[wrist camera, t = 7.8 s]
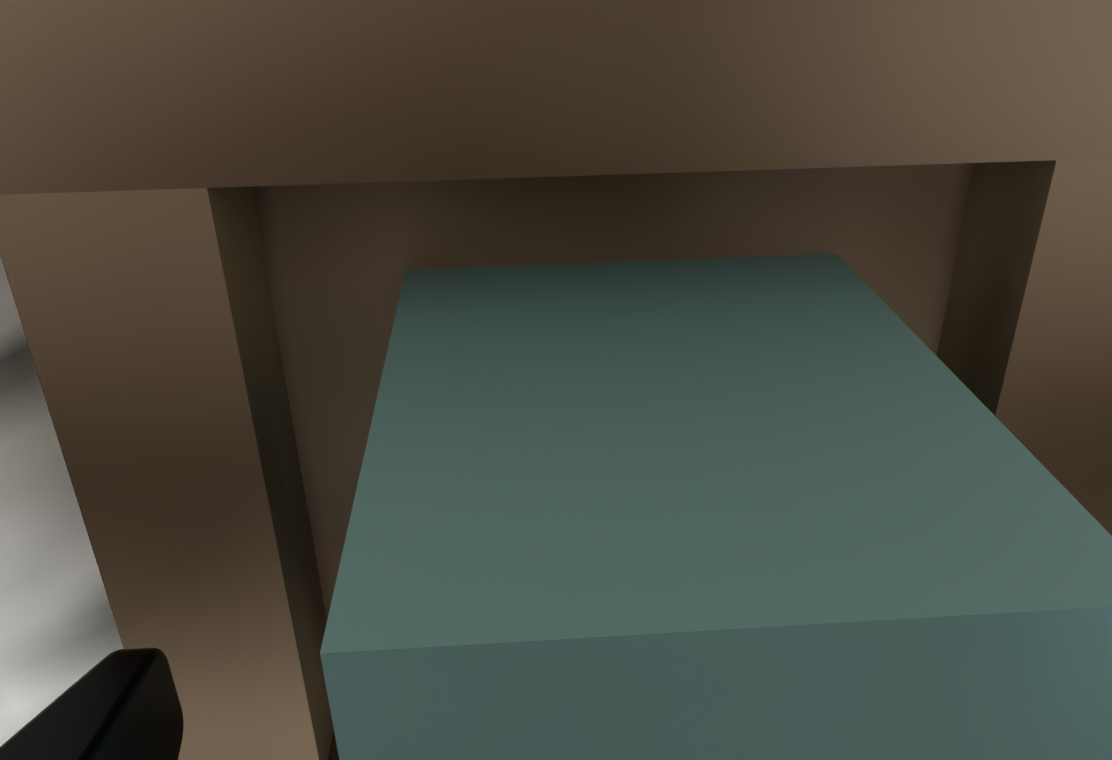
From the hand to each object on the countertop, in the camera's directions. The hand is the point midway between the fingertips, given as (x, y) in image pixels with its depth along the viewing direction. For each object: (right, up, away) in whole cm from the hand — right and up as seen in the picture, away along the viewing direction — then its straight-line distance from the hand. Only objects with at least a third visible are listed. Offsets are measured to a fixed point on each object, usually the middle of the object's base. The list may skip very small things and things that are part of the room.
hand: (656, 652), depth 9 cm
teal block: (0, +2, +3) cm, 4 cm away
